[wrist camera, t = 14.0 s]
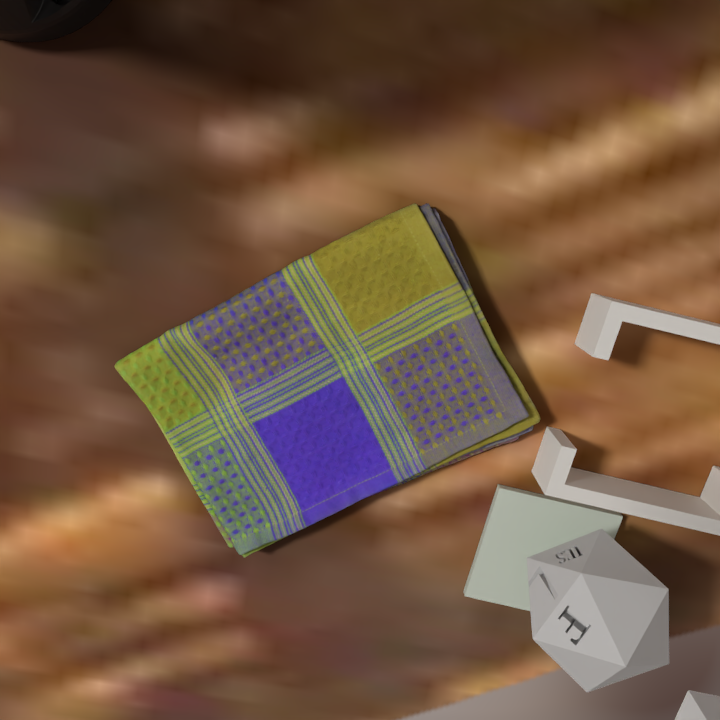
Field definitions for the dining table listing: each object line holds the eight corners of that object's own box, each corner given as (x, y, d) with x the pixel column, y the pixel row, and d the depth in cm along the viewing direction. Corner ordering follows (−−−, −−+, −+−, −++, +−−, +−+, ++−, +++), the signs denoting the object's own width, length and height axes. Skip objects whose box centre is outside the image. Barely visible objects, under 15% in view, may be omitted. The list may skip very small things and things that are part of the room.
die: (550, 488, 41) (601, 573, 32) (657, 544, 42) (739, 644, 32) (486, 580, 43) (516, 687, 34) (589, 632, 44) (647, 752, 34)
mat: (497, 484, 42) (499, 487, 41) (619, 512, 42) (623, 516, 42) (463, 591, 44) (464, 596, 44) (579, 617, 44) (581, 622, 44)
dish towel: (117, 346, 41) (98, 356, 38) (439, 189, 38) (443, 187, 35) (236, 550, 45) (226, 572, 42) (539, 423, 41) (550, 438, 39)
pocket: (591, 293, 38) (611, 301, 35) (782, 338, 39) (820, 351, 35) (531, 471, 42) (544, 494, 38) (708, 512, 42) (736, 539, 39)
